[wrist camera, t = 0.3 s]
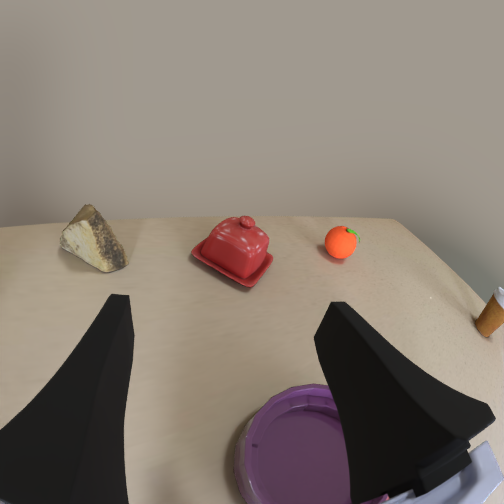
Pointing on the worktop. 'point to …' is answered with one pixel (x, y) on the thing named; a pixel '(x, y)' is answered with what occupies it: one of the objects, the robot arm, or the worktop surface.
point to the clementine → (340, 242)
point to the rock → (93, 241)
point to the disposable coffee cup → (492, 314)
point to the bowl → (295, 451)
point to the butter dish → (236, 250)
